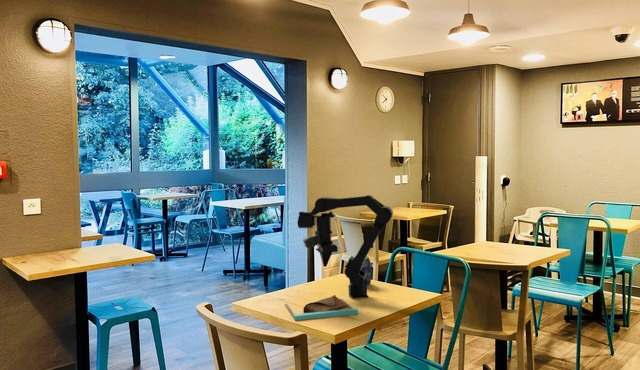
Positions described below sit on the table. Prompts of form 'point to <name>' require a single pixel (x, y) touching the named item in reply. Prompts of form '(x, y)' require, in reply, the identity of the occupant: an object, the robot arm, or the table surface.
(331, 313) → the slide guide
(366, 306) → the table surface
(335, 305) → the sunglasses case
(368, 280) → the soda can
